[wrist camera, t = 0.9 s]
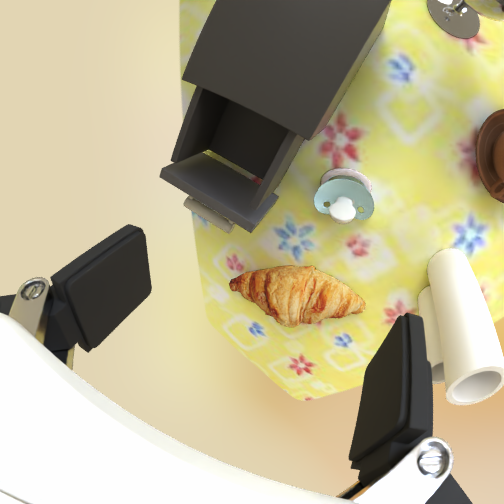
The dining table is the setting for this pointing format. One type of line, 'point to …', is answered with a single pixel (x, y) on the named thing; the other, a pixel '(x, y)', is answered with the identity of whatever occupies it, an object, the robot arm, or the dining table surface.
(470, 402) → the vase
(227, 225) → the drawer
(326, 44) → the cabinet
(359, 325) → the dining table surface
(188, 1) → the dining table surface
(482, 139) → the cup and saucer
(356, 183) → the pacifier
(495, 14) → the wine glass
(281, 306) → the croissant
